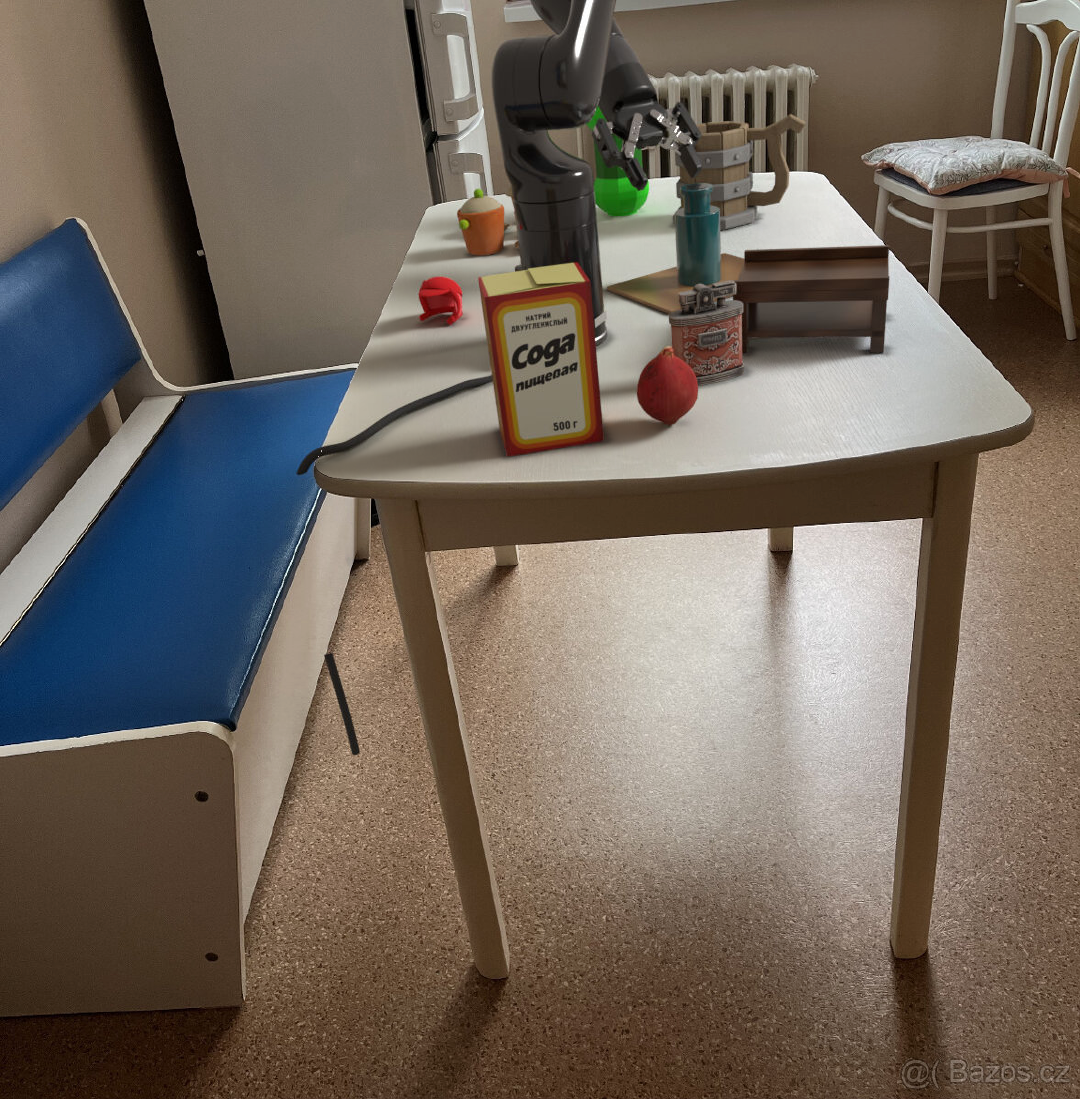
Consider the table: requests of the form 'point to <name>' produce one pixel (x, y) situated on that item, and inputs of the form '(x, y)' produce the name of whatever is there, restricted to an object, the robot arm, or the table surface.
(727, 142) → the tankard
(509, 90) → the robot arm
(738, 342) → the lighter
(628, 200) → the plastic bottle
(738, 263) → the placemat
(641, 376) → the onion
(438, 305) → the red toy helmet
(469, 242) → the toy tea set
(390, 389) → the table surface
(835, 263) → the rack
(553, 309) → the baking soda box
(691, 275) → the vase
